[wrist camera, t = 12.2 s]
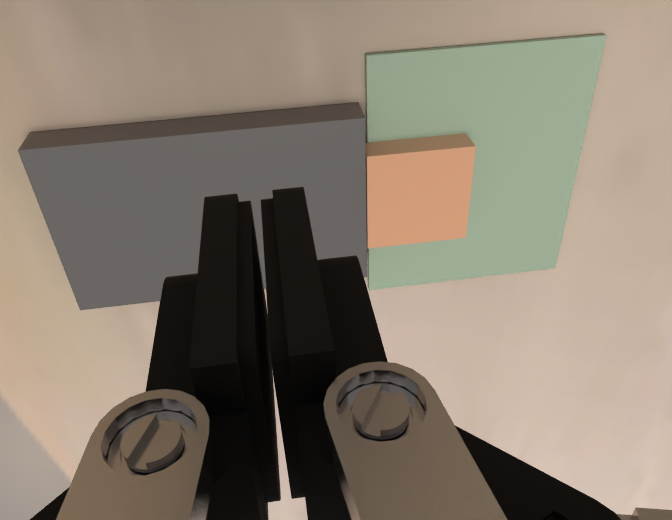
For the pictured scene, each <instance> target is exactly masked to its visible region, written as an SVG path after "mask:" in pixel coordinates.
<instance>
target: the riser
mask: <svg viewBox="0 0 672 520" xmlns="http://www.w3.org/2000/svg"><path fill="white" fill-rule="evenodd" d="M18 152H19V155H20V157H21V160H22V162H23V165H24V167H25V170H26V173H27V175H28V178H29V180H30V183H31V185H32V188H33V190H34V193H35V196H36V198H37V201H38V203H39V206H40V208H41V211H42V214H43V216H44V219H45V221H46V224H47V226H48V229H49V231H50V234H51V237H52V239H53V242H54V244H55V247H56V249H57V252H58V254H59V257H60V260H61V262H62V265H63V267H64V270H65V272H66V275H67V278H68V280H69V283H70V285H71V288H72V290H73V293H74V295H75V298H76V301H77V303H78V306H79V308H80V310H86V309H94V308H103V307H112V306H120V305H129V304H137V303H146V302H155V301H160V300H161V294H162V288H163V283H164V279H165V278H166V277H169V276H178V275H187V274H196V273H198V263H199V252H200V240H201V229H202V218H203V206H204V198H205V197H208V196H218V195H227V194H237V195H238V199H239V202H241V201H251V205H252V211H253V218H254V225H255V232H256V239H257V246H258V252H259V259H260V266H261V273H262V280H263V287H264V289H266V277H265V261H264V245H263V230H262V214H261V199H270V198H273V193H272V190H276V189H286V188H295V187H304V191H305V197H306V202H307V207H308V213H309V218H310V223H311V229H312V234H313V239H314V245H315V250H316V255H317V260H320V259H328V258H337V257H346V256H355V255H356V256H357V257H358V260H359V263H360V266H361V270H362V273H363V277H367V226H366V152H365V117H364V114H363V112H362V110H361V108H360V105H359V103H358V102H357V103H346V104H335V105H325V106H314V107H303V108H292V109H281V110H270V111H259V112H248V113H237V114H226V115H215V116H204V117H193V118H182V119H172V120H161V121H150V122H139V123H128V124H117V125H106V126H95V127H84V128H73V129H62V130H51V131H40V132H30V133H29V135H28V136H27V138H26V139H25V141H24V142H23V144H22V145H21V147H20V148H19V150H18Z"/></svg>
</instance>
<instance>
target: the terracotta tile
mask: <svg viewBox="0 0 672 520" xmlns="http://www.w3.org/2000/svg"><path fill="white" fill-rule="evenodd" d="M475 149H476V146H475V144H474V143H473V142H472V140H471V139H470V138H469V136H468V135H467V134H466V133H463V134H453V135H442V136H432V137H421V138H411V139H400V140H390V141H379V142H368V143H365V152H366V226H367V248H377V247H386V246H395V245H404V244H413V243H422V242H432V241H441V240H450V239H459V238H466V232H467V223H468V214H469V204H470V195H471V186H472V177H473V168H474V158H475Z"/></svg>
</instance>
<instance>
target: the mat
mask: <svg viewBox="0 0 672 520" xmlns="http://www.w3.org/2000/svg"><path fill="white" fill-rule="evenodd" d="M605 40H606V35H605V34H591V35H580V36H568V37H556V38H544V39H532V40H520V41H509V42H497V43H485V44H473V45H461V46H450V47H438V48H426V49H414V50H402V51H391V52H379V53H367V54H365V61H366V142H367V143H368V142H379V141H390V140H400V139H411V138H421V137H432V136H442V135H453V134H463V133H466V134H467V135H468V136H469V138H470V139H471V140H472V142H473V143H474V144H475V146H476V149H475V158H474V168H473V177H472V186H471V195H470V204H469V214H468V223H467V232H466V238H459V239H450V240H441V241H432V242H422V243H413V244H404V245H395V246H386V247H377V248H368V288H369V290H375V289H384V288H392V287H401V286H409V285H417V284H426V283H434V282H443V281H451V280H460V279H468V278H477V277H485V276H494V275H502V274H510V273H519V272H527V271H536V270H544V269H553V268H555V267H556V262H557V258H558V253H559V249H560V244H561V240H562V235H563V230H564V226H565V221H566V217H567V212H568V208H569V203H570V199H571V194H572V190H573V185H574V181H575V176H576V171H577V167H578V162H579V158H580V153H581V149H582V144H583V140H584V135H585V131H586V126H587V122H588V117H589V112H590V108H591V103H592V99H593V94H594V90H595V85H596V81H597V76H598V72H599V67H600V63H601V58H602V53H603V49H604V44H605Z"/></svg>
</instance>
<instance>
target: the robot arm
mask: <svg viewBox="0 0 672 520" xmlns="http://www.w3.org/2000/svg"><path fill="white" fill-rule="evenodd" d="M272 193H273V198H270V199H261V214H262V230H263V245H264V261H265V277H266V292H267V307H266V300H265V294H264V287H263V280H262V273H261V266H260V259H259V252H258V246H257V239H256V232H255V225H254V218H253V211H252V205H251V201H241V202H239V199H238V195H237V194H227V195H218V196H208V197H205V198H204V206H203V218H202V229H201V240H200V252H199V263H198V273H196V274H187V275H178V276H169V277H166V278H165V279H164V283H163V288H162V294H161V300H160V306H159V312H158V319H157V325H156V331H155V337H154V343H153V349H152V356H151V362H150V368H149V374H148V380H147V387H146V392H144V393H141V394H138V395H135V396H133V397H130V398H128V399H126V400H125V401H123V402H122V403H120V404H118V405H117V406H115V407H114V408H112V409H111V410H110V411H109V412H108V413H107V414H106V415H105V416H104V417H103V418H102V419H101V420H100V422H99V423H98V425H97V427H96V428H95V430H94V432H93V433H92V435H91V437H90V439H89V442H88V444H87V447H86V449H85V451H84V454H83V456H82V459H81V461H80V463H79V466H78V468H77V471H76V473H75V475H74V478H73V480H72V483H71V485H70V487H69V488H68V489H67V490H65V491H64V492H63V493H62V494H61V495H59V496H58V497H57V498H56V499H55V500H53V501H52V502H51V503H50V504H49V505H47V506H46V507H45V508H44V509H43V510H41V511H40V512H39V513H37V514H36V515H35V516H34V517H33V518H31V519H30V520H268V502H273V501H280V499H281V496H280V479H279V464H278V449H277V434H276V418H275V403H274V388H273V377H274V383H275V390H276V397H277V403H278V410H279V417H280V423H281V430H282V437H283V443H284V450H285V457H286V463H287V470H288V477H289V483H290V490H291V496H292V499H294V498H301V497H305V499H306V507H307V515H308V520H672V510H662V509H648V508H635V510H634V512H633V514H632V515H621V514H616V513H614V512H613V511H611V510H610V509H609V508H607V507H606V506H604V505H603V504H601V503H600V502H598V501H597V500H595V499H593V498H591V497H589V496H587V495H586V494H584V493H582V492H580V491H578V490H576V489H574V488H572V487H570V486H568V485H567V484H565V483H563V482H561V481H559V480H557V479H555V478H553V477H551V476H550V475H548V474H546V473H544V472H542V471H540V470H538V469H536V468H534V467H532V466H531V465H529V464H527V463H525V462H523V461H521V460H519V459H517V458H515V457H514V456H512V455H510V454H508V453H506V452H504V451H502V450H500V449H498V448H497V447H495V446H493V445H491V444H489V443H487V442H485V441H483V440H481V439H479V438H478V437H476V436H474V435H472V434H470V433H468V432H466V431H464V430H462V429H461V428H459V427H457V426H455V425H454V424H453V422H452V420H451V418H450V416H449V415H448V413H447V411H446V409H445V407H444V406H443V404H442V402H441V400H440V399H439V397H438V395H437V393H436V391H435V390H434V388H433V387H432V386H431V385H430V383H429V382H428V381H427V380H426V378H425V377H423V376H422V375H420V374H419V373H417V372H416V371H414V370H413V369H411V368H408V367H405V366H403V365H400V364H397V363H390V362H387V358H386V355H385V351H384V347H383V344H382V340H381V337H380V333H379V330H378V326H377V323H376V319H375V316H374V312H373V309H372V305H371V301H370V298H369V294H368V291H367V287H366V284H365V280H364V277H363V273H362V270H361V266H360V263H359V260H358V257H357V256H356V255H355V256H346V257H337V258H328V259H320V260H317V255H316V250H315V245H314V239H313V234H312V229H311V223H310V218H309V213H308V207H307V202H306V197H305V191H304V187H295V188H286V189H276V190H272ZM267 308H268V314H267ZM272 369H273V373H272Z"/></svg>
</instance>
